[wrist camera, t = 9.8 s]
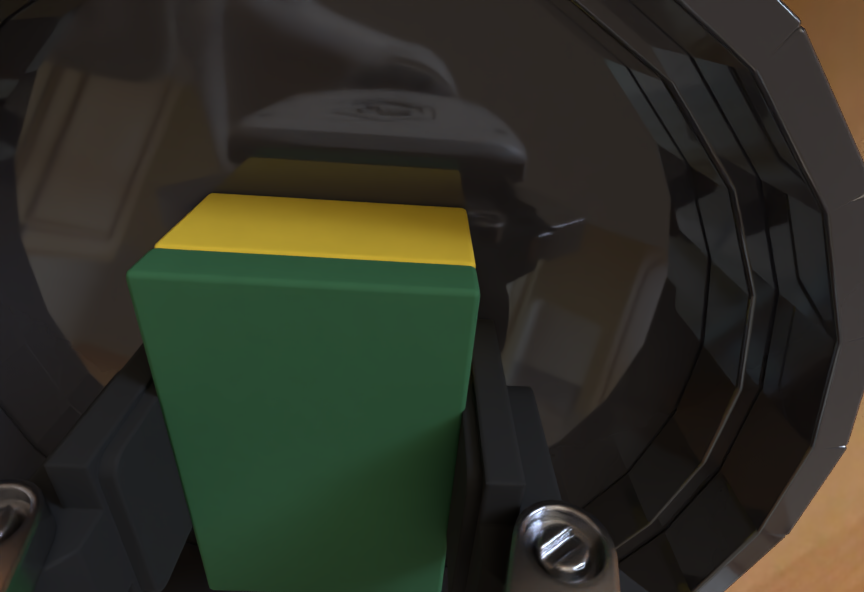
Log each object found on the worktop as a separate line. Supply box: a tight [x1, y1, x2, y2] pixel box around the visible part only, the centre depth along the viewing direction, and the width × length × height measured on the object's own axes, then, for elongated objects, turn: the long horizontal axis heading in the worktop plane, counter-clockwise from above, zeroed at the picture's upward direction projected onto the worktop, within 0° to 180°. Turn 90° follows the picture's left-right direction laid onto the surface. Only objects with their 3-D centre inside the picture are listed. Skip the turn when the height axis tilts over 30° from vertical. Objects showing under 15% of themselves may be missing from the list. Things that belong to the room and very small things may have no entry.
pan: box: [0, 0, 864, 592], centre depth 10 cm, size 17×17×4 cm
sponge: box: [126, 193, 480, 592], centre depth 10 cm, size 4×7×3 cm, turn 176°
